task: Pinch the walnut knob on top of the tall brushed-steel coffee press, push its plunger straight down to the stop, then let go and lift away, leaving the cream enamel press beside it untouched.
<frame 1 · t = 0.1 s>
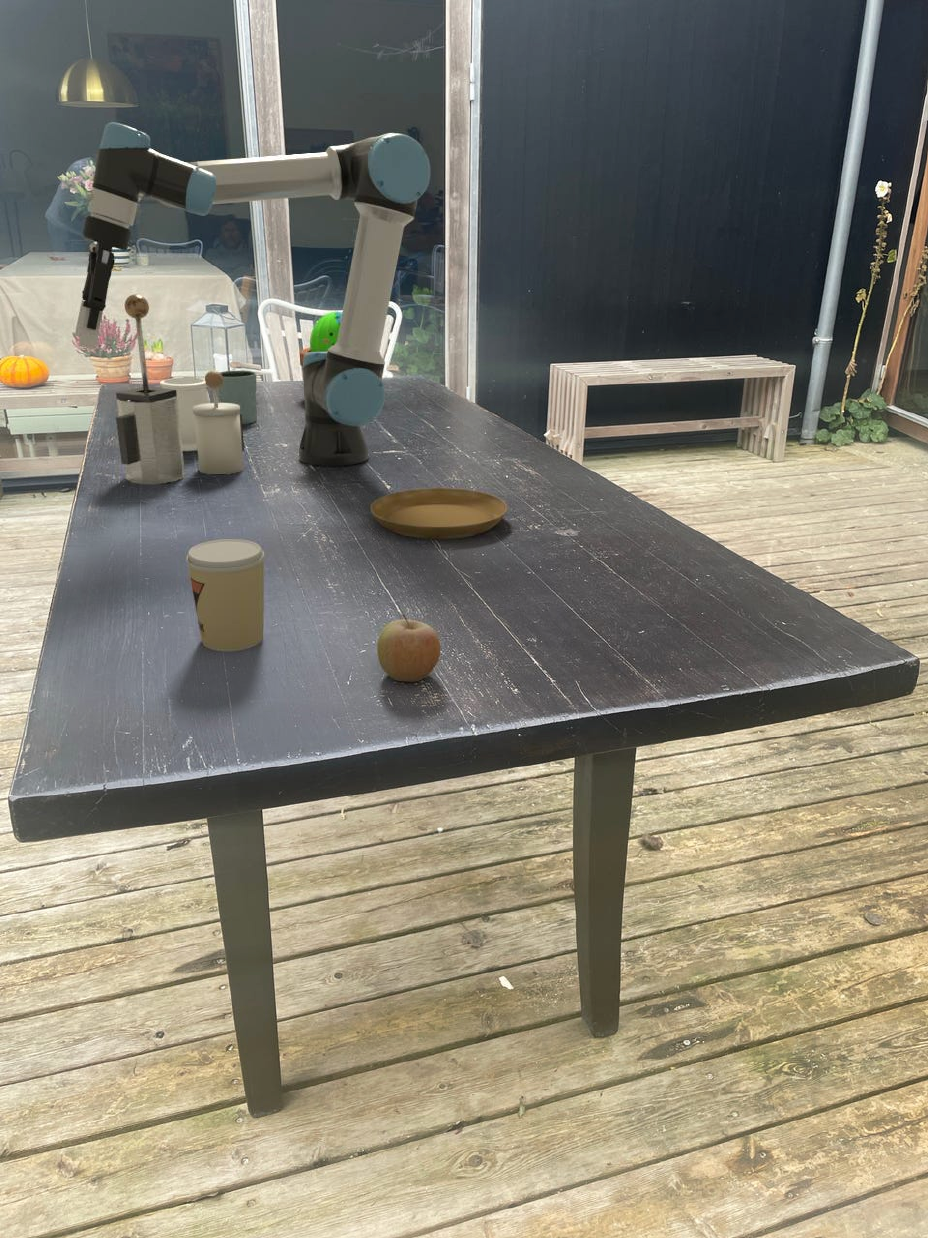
hand: (84, 342, 171), 28 cm above the table, tool tilted 20°, fingers open, 13 cm apart
plant saucer: (438, 524, 169), on the table
jar: (190, 448, 217), on the table
coffee cup: (232, 640, 122), on the table
press: (156, 476, 193), on the table
potted cactus: (340, 400, 275), on the table
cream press: (221, 469, 200), on the table
plunger: (141, 351, 184), point 25 cm above the table, slide at 0.0 cm
teal pot: (239, 421, 246), on the table
fruit: (408, 677, 113), on the table
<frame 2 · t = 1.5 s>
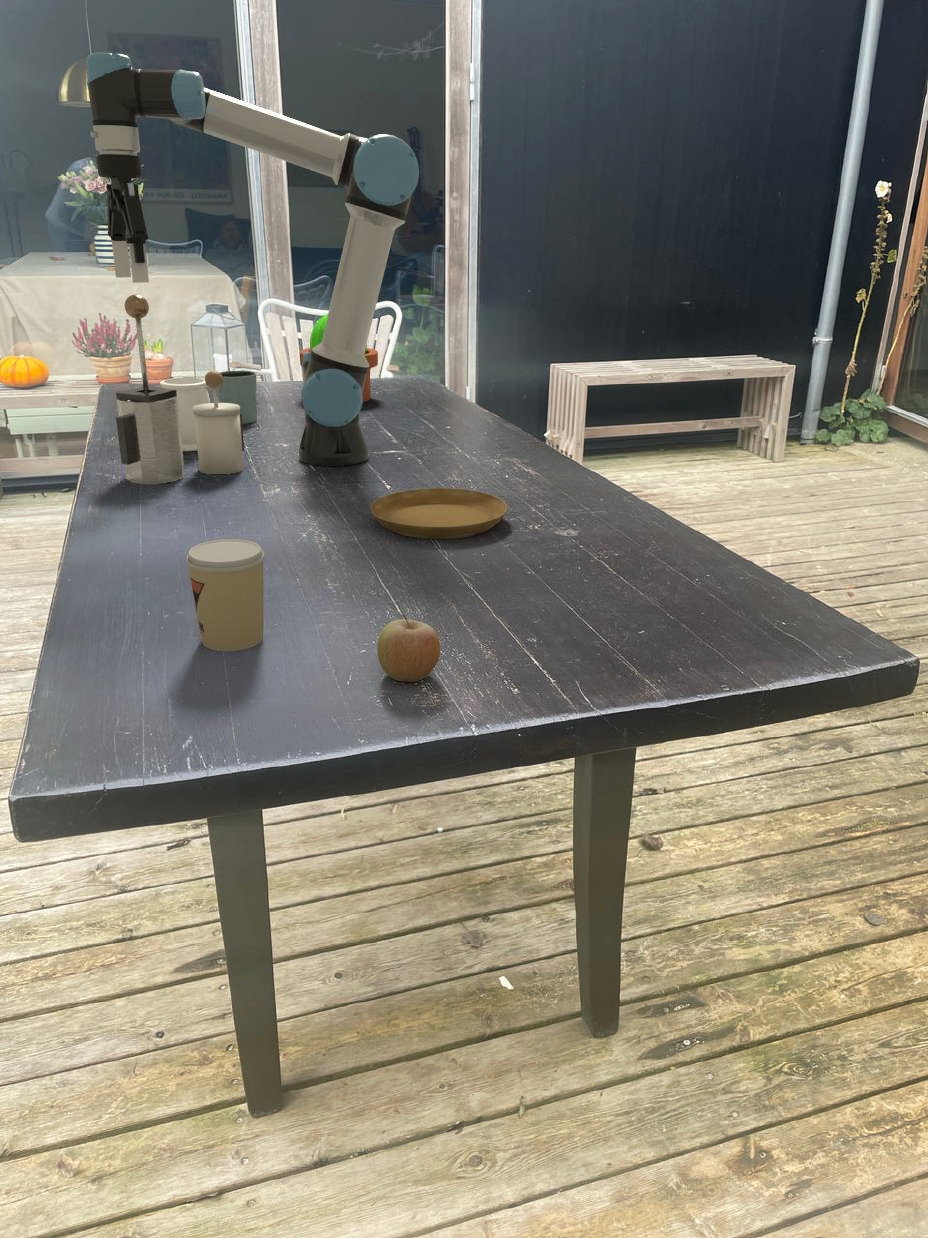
hand: (131, 279, 178), 38 cm above the table, tool pointing down, fingers open, 13 cm apart
nothing on the table moved.
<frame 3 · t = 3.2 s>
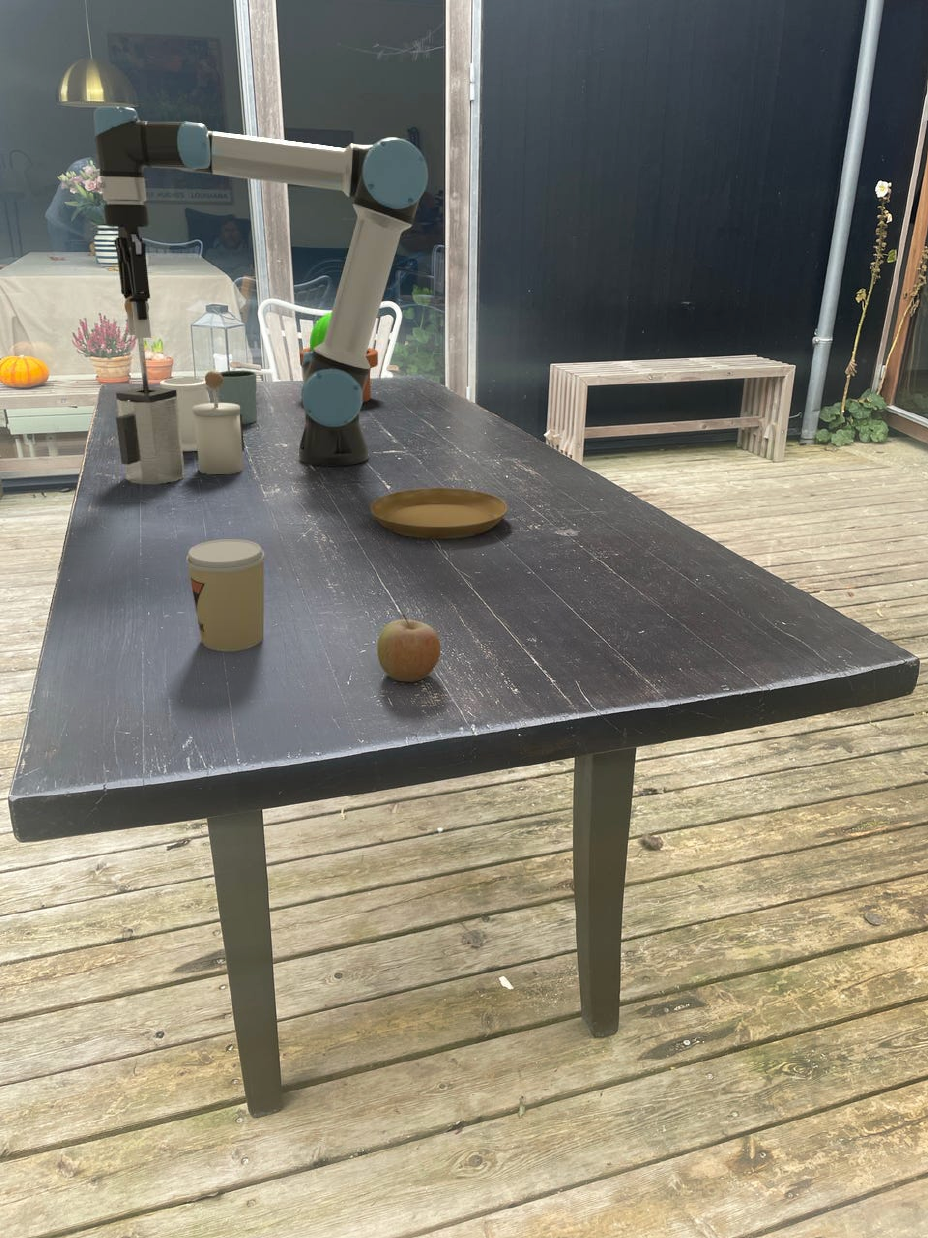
hand: (140, 335, 182), 28 cm above the table, tool pointing down, fingers closed on plunger, 4 cm apart
plunger: (141, 351, 184), point 25 cm above the table, slide at 0.0 cm, touching gripper
everything else where it was.
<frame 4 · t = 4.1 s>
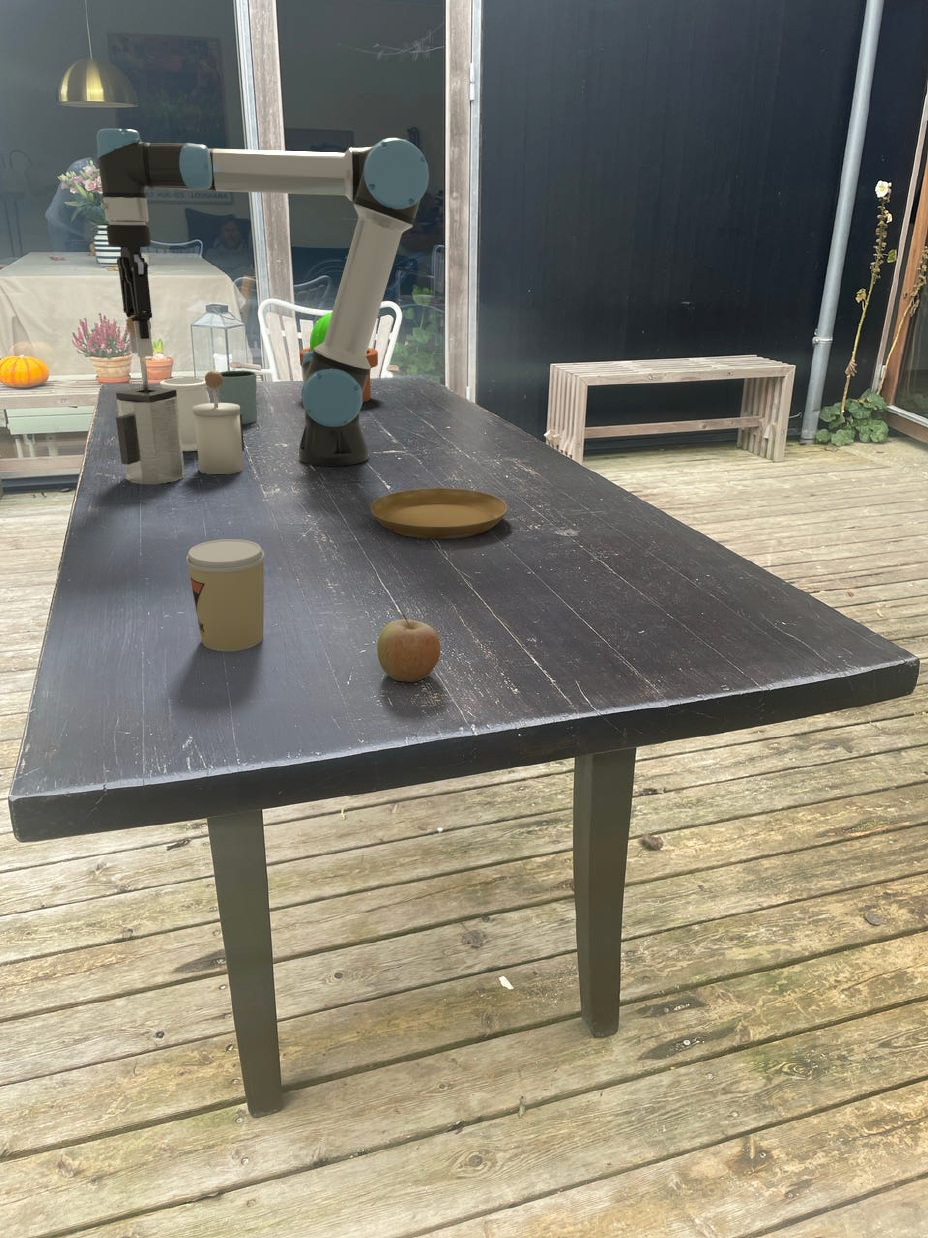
hand: (142, 354, 184), 24 cm above the table, tool pointing down, fingers closed on plunger, 4 cm apart
plunger: (143, 369, 185), point 21 cm above the table, slide at 3.4 cm, touching gripper
everything else where it was.
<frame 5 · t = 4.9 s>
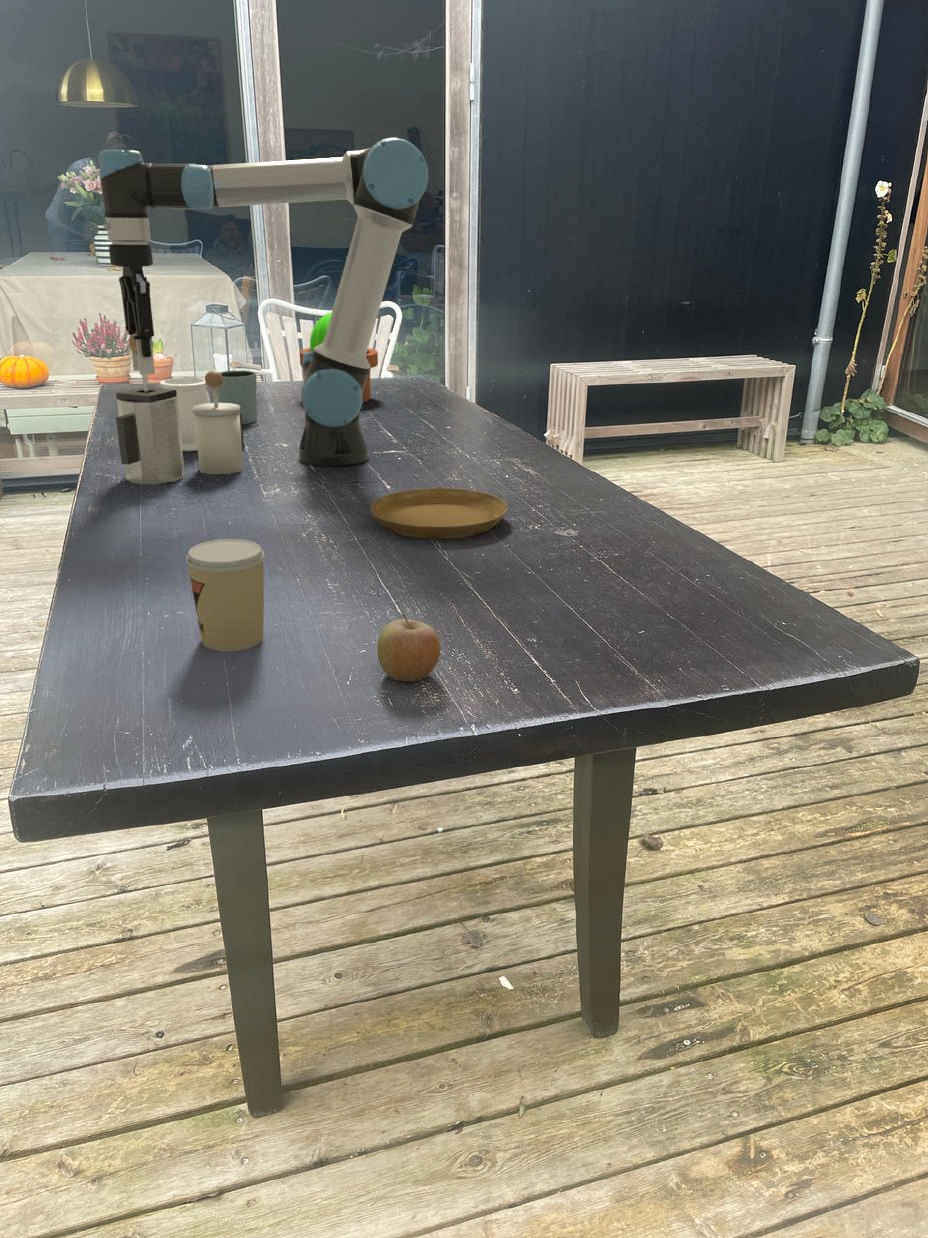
hand: (144, 371, 185), 21 cm above the table, tool pointing down, fingers closed on plunger, 4 cm apart
plunger: (145, 387, 186), point 18 cm above the table, slide at 6.7 cm, touching gripper
everything else where it was.
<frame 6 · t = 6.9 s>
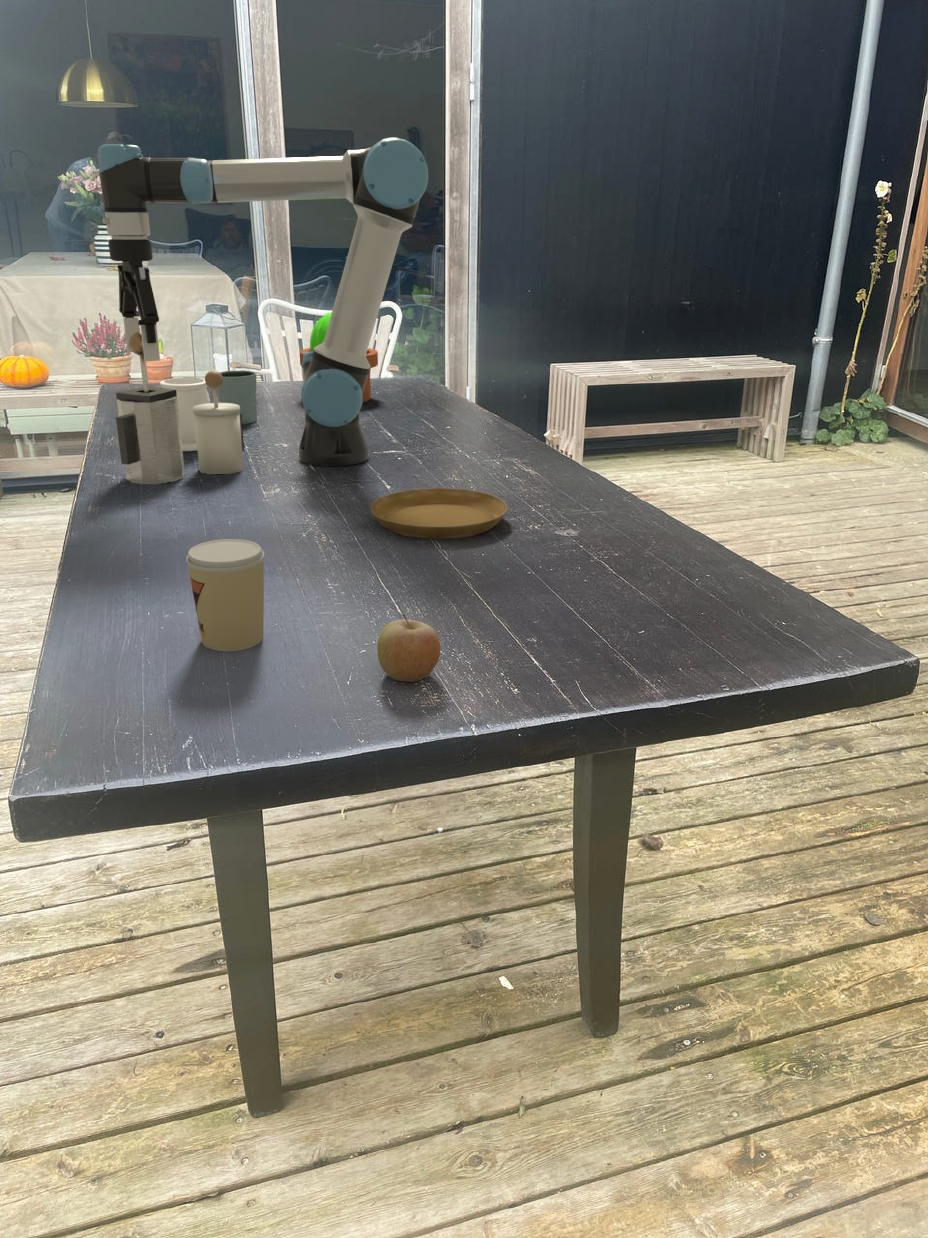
hand: (143, 356, 184), 24 cm above the table, tool pointing down, fingers open, 13 cm apart
plunger: (145, 387, 186), point 18 cm above the table, slide at 6.8 cm
everything else where it was.
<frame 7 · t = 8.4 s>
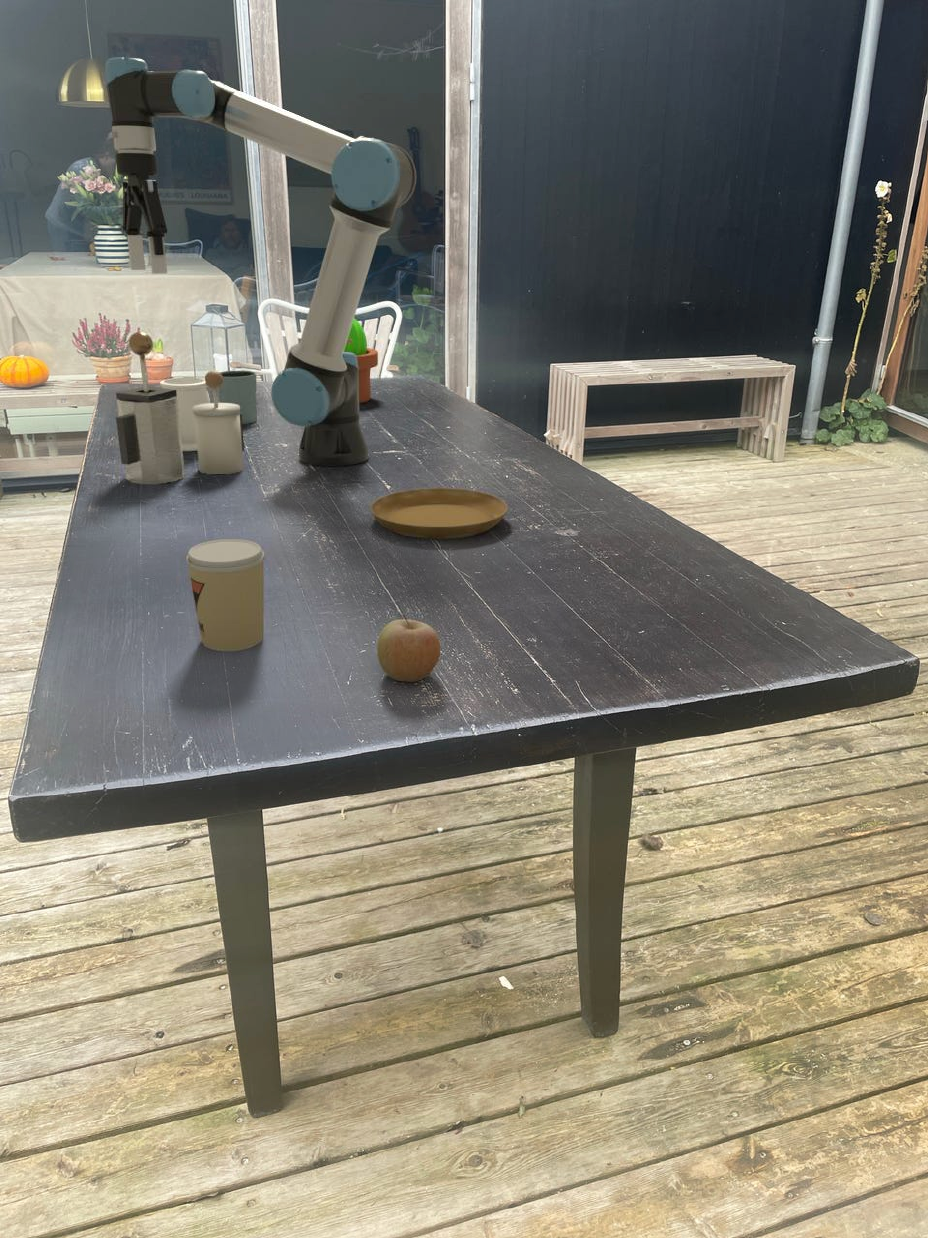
hand: (148, 271, 189), 39 cm above the table, tool pointing down, fingers open, 13 cm apart
nothing on the table moved.
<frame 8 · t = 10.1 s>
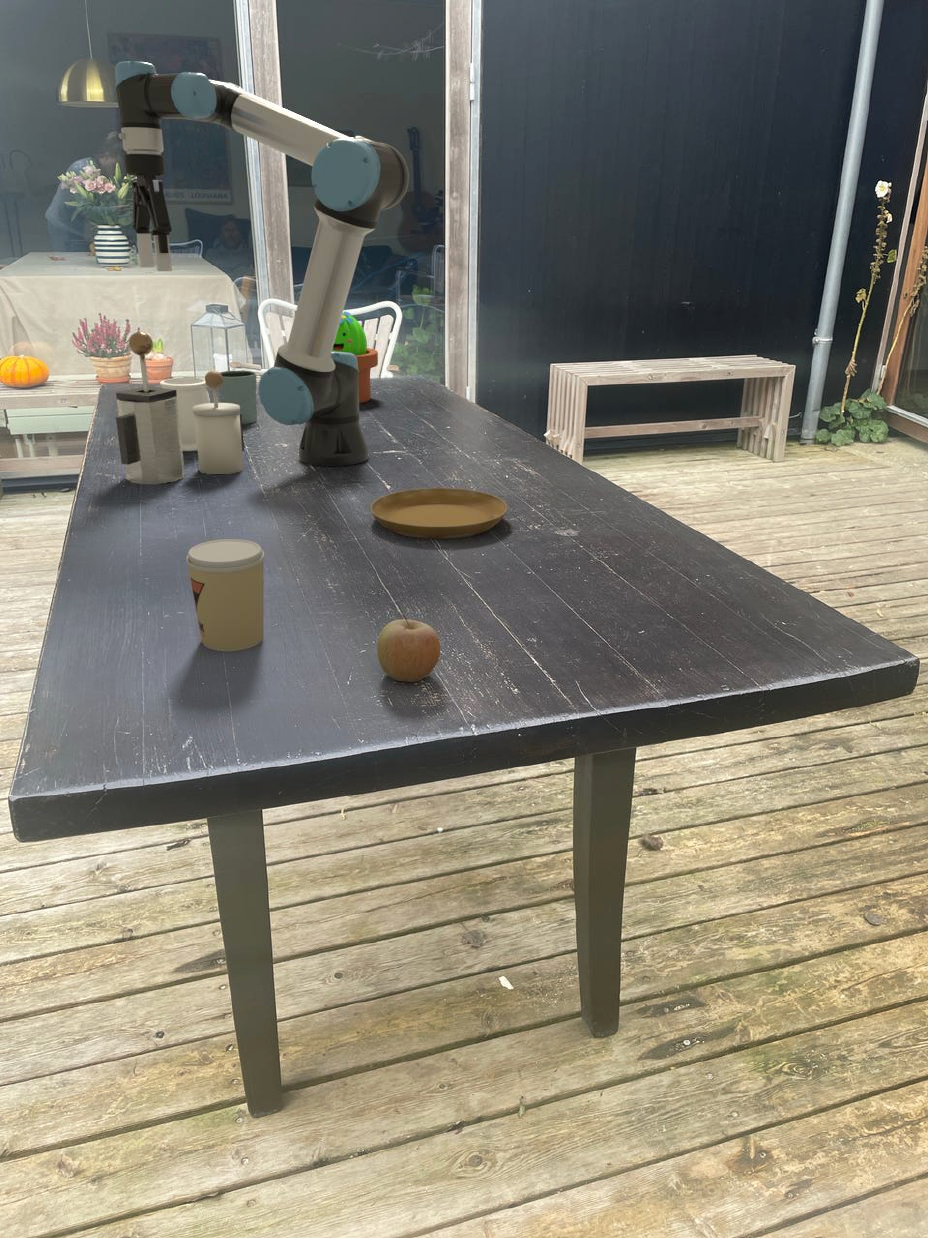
hand: (155, 269, 195), 39 cm above the table, tool pointing down, fingers open, 13 cm apart
nothing on the table moved.
at the end: plunger slide at 6.8 cm; the gripper is holding nothing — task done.
